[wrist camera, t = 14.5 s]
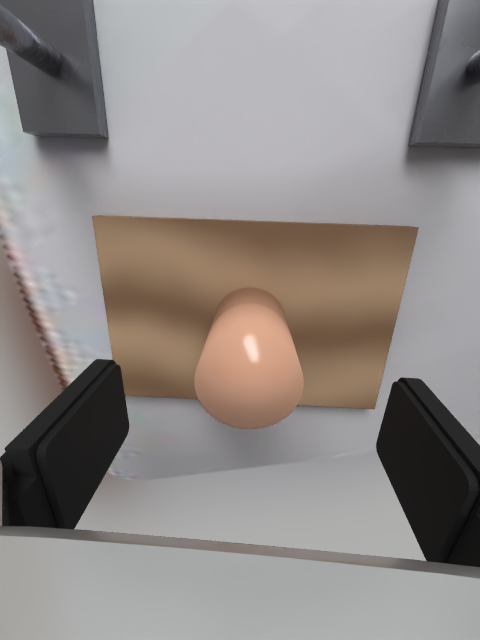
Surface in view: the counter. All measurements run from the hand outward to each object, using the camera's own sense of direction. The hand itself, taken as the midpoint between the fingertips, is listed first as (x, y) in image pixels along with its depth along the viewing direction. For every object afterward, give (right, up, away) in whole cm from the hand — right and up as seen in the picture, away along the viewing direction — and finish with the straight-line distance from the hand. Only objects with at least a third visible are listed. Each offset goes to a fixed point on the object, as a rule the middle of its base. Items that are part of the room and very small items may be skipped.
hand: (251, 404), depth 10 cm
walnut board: (0, +3, +9) cm, 10 cm away
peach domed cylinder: (0, +3, +8) cm, 9 cm away
